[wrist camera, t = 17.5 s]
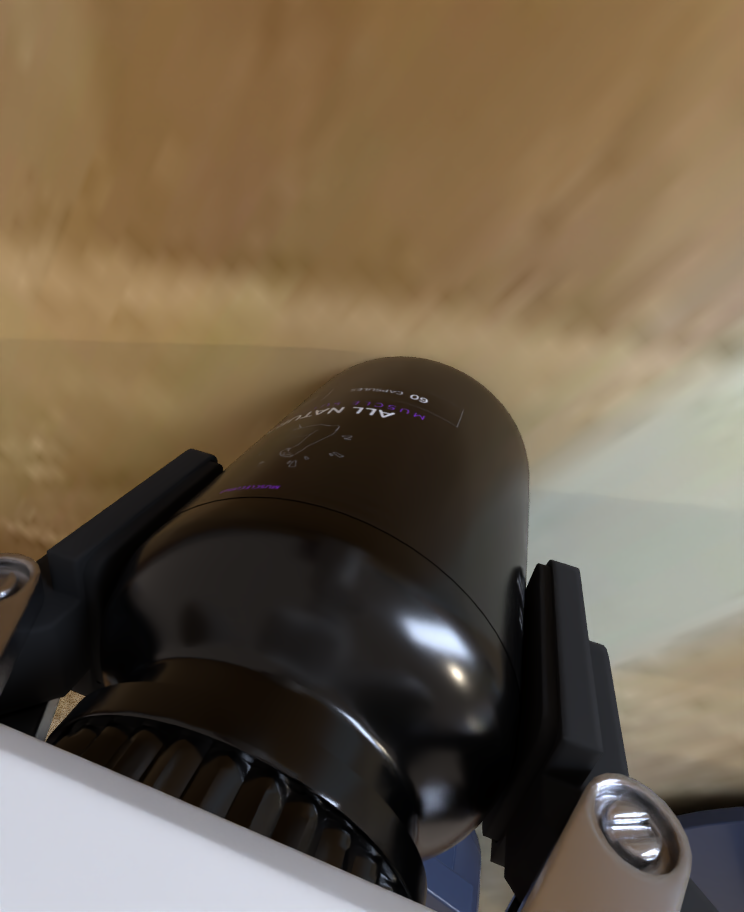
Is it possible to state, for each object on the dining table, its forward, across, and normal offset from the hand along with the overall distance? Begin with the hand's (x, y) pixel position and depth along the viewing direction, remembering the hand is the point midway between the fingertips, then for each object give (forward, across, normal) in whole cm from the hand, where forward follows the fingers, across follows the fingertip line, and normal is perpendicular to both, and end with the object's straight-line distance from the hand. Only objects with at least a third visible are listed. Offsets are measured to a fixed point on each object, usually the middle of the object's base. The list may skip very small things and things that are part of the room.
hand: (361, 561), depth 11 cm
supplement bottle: (+5, 0, 0) cm, 5 cm away
